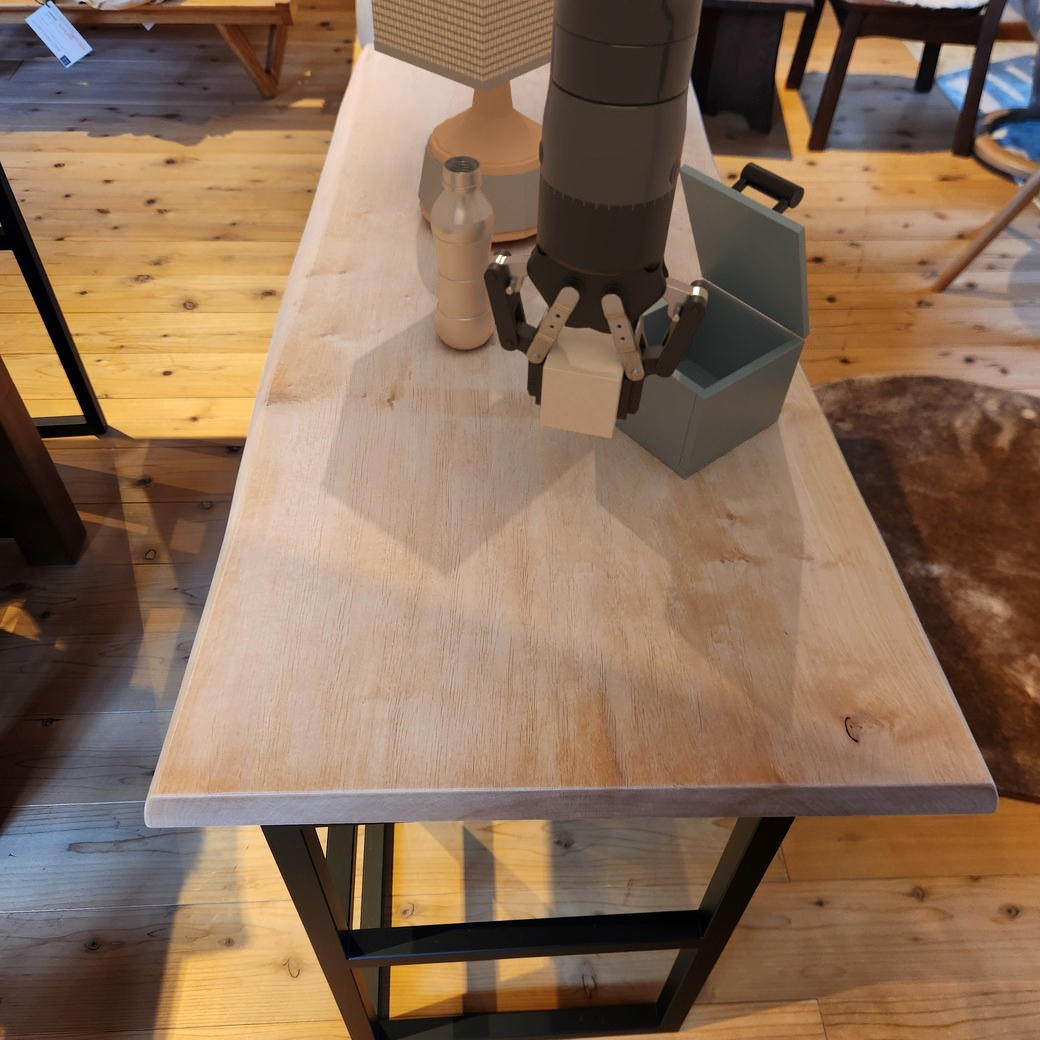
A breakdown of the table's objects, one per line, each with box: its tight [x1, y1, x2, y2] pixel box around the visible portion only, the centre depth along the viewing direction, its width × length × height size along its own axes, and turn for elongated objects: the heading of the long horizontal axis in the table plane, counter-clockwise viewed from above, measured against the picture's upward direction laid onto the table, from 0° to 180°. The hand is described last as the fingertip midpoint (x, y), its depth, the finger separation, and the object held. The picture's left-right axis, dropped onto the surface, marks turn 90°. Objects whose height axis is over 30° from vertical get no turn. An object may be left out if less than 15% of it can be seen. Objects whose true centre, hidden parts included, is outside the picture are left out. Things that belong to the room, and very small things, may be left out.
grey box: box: [615, 278, 806, 480], centre depth 84 cm, size 14×13×10 cm
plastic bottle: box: [429, 156, 495, 350], centre depth 87 cm, size 6×7×20 cm
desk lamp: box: [370, 0, 554, 243], centre depth 99 cm, size 22×19×37 cm
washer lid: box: [679, 161, 811, 340], centre depth 77 cm, size 15×13×5 cm
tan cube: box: [539, 324, 624, 439], centre depth 57 cm, size 5×5×5 cm
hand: (582, 404), depth 59 cm, fingers closed on tan cube, 5 cm apart
